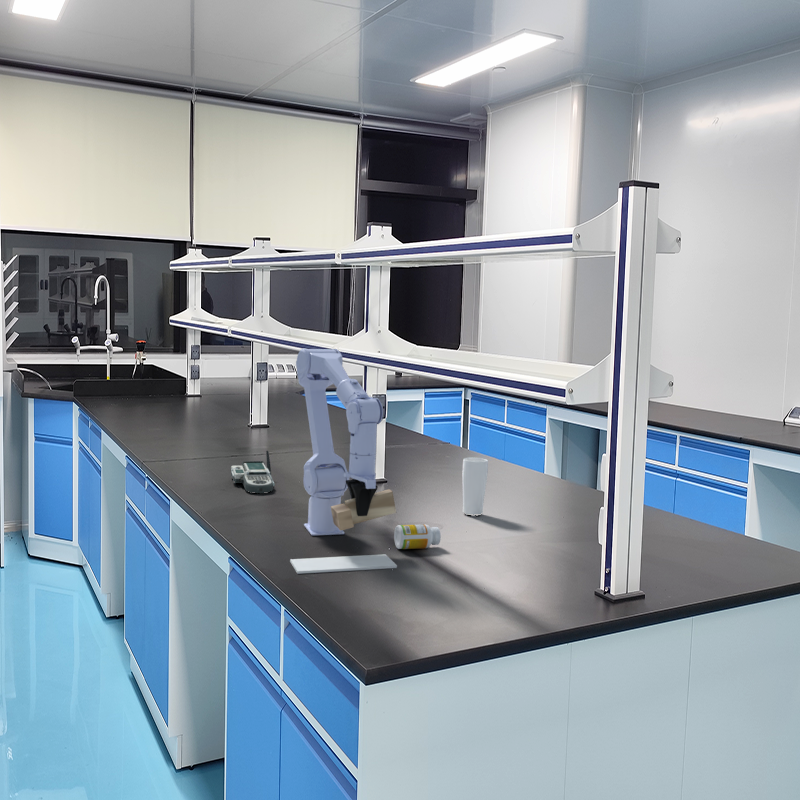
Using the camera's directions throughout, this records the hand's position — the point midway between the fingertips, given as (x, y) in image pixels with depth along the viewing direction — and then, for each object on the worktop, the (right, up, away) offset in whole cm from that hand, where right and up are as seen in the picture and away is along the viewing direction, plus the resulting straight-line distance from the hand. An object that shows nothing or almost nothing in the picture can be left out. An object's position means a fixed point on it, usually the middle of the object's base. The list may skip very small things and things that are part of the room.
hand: (360, 513), depth 179 cm
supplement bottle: (+8, -6, +3) cm, 10 cm away
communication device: (-35, -1, +62) cm, 72 cm away
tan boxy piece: (+1, -1, +1) cm, 2 cm away
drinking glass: (+28, -6, +39) cm, 48 cm away
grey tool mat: (-3, -9, -9) cm, 14 cm away
